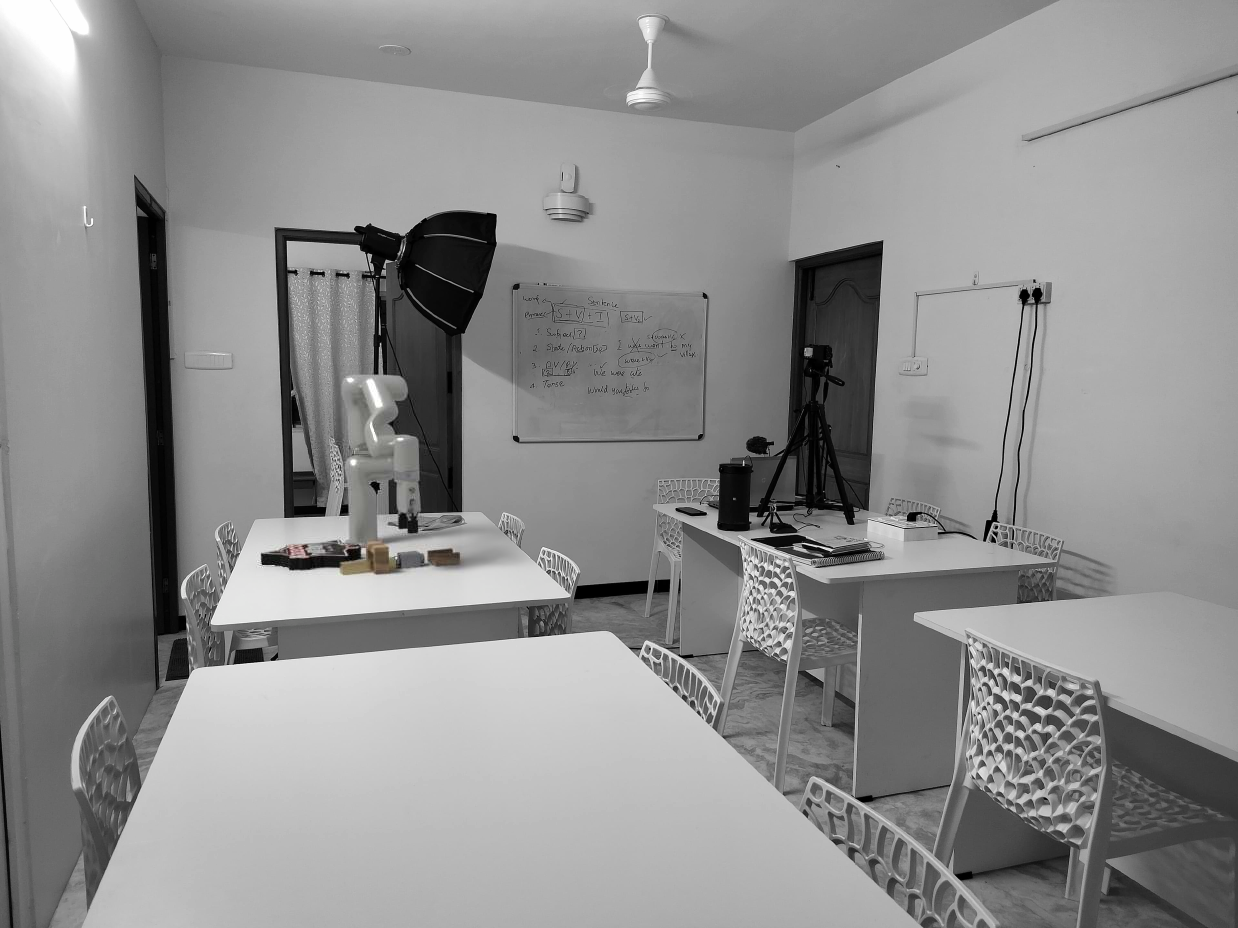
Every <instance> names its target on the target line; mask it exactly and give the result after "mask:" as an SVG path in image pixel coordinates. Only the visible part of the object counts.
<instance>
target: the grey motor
mask: <svg viewBox="0 0 1238 928" xmlns="http://www.w3.org/2000/svg"><path fill="white" fill-rule="evenodd" d="M393 557H394V558H395V559H396V567H398V568H399V569H400V570H403V569H404V568H405V569H412V568H411V567H414V568H421V567H422V566H421V565H422V564H425V554H424V553H423V552H422V553H421V552H419V551H418V550H410V551H401V552H397V554H396V555H394V556H393ZM420 566H421V567H420ZM405 569H404V570H405Z"/></svg>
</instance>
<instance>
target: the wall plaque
mask: <svg viewBox="0 0 1238 928" xmlns="http://www.w3.org/2000/svg"><path fill="white" fill-rule="evenodd" d="M359 560H362V547H361V546H359V544H356V543H352V544H350V543H345V542H342V541H341V540H340V539H333V540H327V541H321V542H310V543H291V544H287V545H285V547H282V548H279V549H278V550H270V551H264V552H261V553H260V565H261V564H262V565H275V566H274V567H281V566H282V568H285V567H287V569H288V570H289V571H309V570H313V569H321V568H322V569H323V568H328V569H329V568H330V569H340V562H349V561H359ZM262 565H261V566H262Z"/></svg>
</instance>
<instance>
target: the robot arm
mask: <svg viewBox="0 0 1238 928" xmlns="http://www.w3.org/2000/svg"><path fill="white" fill-rule="evenodd" d="M341 396H342V399H343V402H344V404H345V408H346V412H347V413H346V414H347V435H348V445H349V448H350V449H351V450H353V451H357V452H369V454H359V455H352V456H350V457H348V458H347V459H346V461H345V463H344V472H345V473H344V474H345V477H346V484H347V496H348V498H347V499H348V532H349V534H348V535H349V536H348V537H349V538H348V539H346V540H345V541H344V543H350V544H352V543H356V544H359V546H361V548H366V541H377V540H379V541H380V542H382V543H383V539H382V538H379V537H378V500H377V499H378V498H377V493H376V491H375V489H374V488H373V487H372V485H371V484H370V483H372V482H384V481H385V482H386V481H391V480H394V483H396V509H397V511H398V512H397V520H398V521H397V524H398V525H397V526H398V528H397V529H398V530H407V534H408V535H410V534H419V517H418V515H419V514H420V513H421V510H422V509H421V496H420V487H419V486H420V485H419V481H420V455H419V454H420V452H419V451H420V450H419V445H420V444H419V439H418V438H417V437H416V436H413V435H412V436H411V435H409V434H395V430H394V429H393V427H392V426H391V425H390V424H389V423H391V422H392V421H394V420H395V419H396V418H397V416H398V414H399V409H398V406H397V404H396V401H397V402H398V401H399V402H400V401H404V400H406V398H407V397H408V385H407V382H406V381H405V379H404V378H403V377H402V376H400V375H392V374H390V375H389V374H350V375H347V376H345V377H344V378H343V380H342V382H341Z"/></svg>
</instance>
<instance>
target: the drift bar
mask: <svg viewBox="0 0 1238 928" xmlns="http://www.w3.org/2000/svg"><path fill="white" fill-rule="evenodd" d="M391 569H393V570H396V569H397V566H396V559H395V558H394V556H389V571H391ZM339 571H340V572H339V573H340V574H341V576H346V575H355V574H356V575H357V574H363V573H365V572H366V573H372V572H373V571H374V566H373V559H368V560H366V559H363V560H362V559H359V560H351V561H349V562H340V568H339ZM366 573H365V574H366ZM373 573H374V572H373Z"/></svg>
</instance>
